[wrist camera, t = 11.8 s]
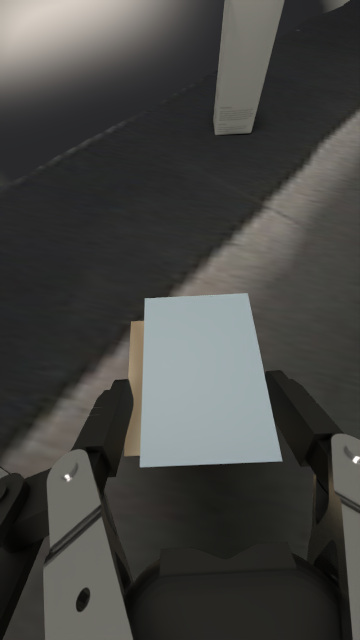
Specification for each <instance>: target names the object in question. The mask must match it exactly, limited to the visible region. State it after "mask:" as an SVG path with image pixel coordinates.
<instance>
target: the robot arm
mask: <svg viewBox="0 0 360 640" xmlns="http://www.w3.org/2000/svg"><path fill="white" fill-rule="evenodd" d="M265 380H266V385H267V389H268V394H269V399H270V404H271V409H272V414H273V418H274V420H275V421H276V423H277V425H278V427H279V429H280V430H281V432H282V434H283V436H284V438H285V439H286V441H287V443H288V445H289V447H290V448H291V450H292V452H293V454H294V456H295V457H296V459H297V461H298V463H299V465H300V466H301V467H310V466H311V468H312V470H313V471H314V476H313V506H312V530H311V535H310V539H309V545H308V555H307V561H306V560H304V559H303V558H301V557H299V556H297V555H295V554H292V553H291V551H290V548H289V545H288V543H287V542H279V543H261V544H255V545H253V546H251V547H249V548H248V549H246V550H244V551H242V552H240V553H238V554H237V555H235V556H233V557H231V558H229V559H222V558H219V557H216V556H214V555H211V554H208V553H205V552H203V551H200V550H197V549H195V548H192V547H191V548H173V549H161V555H160V559H159V560H158V561H156V562H154V563H153V564H151V565H150V566H149V567H147V568H146V569H145V570H144V571H143V572H142V573H141V574H140V575H139V577H138V578H137V579H136V580H135V582H133V579H132V576H131V572H130V569H129V566H128V562H127V559H126V556H125V553H124V551H123V548H122V545H121V543H120V540H119V537H118V533H117V530H116V527H115V523H114V520H113V517H112V513H111V510H110V507H109V503H108V500H107V496H106V493H105V490H104V488H105V485H106V481H107V478H108V477H116V473H117V469H118V465H119V462H120V458H121V454H122V450H123V446H124V442H125V438H126V434H127V431H128V427H129V423H130V419H131V415H132V411H133V406H134V398H133V394H132V390H131V385H130V381H129V380H128V379H124V380H115V381H114V382H113V384H112V387H111V389H110V390H105V391H104V392H103V393H102V394H101V395H100V396H99V397H98V398H97V400H96V402H95V404H94V406H93V409H92V410H91V412H90V414H89V416H88V418H87V420H86V422H85V424H84V426H83V428H82V430H81V432H80V434H79V436H78V438H77V440H76V442H75V444H74V446H73V448H72V450H71V451H70V452H68V453H66V454H65V455H64V456H62V457H61V458H60V459H59V460H58V461H57V462H56V463H55V464H54V466H53V467H52V468H50V469H48V470H46V471H43V472H41V473H38V474H36V475H33V476H31V477H28V478H26V479H24V478H23V477H22V476H21V475H20V474H18V473H12V474H8V475H6V476H4V477H2V478H0V640H2V639H3V637H4V635H5V632H6V630H7V627H8V625H9V622H10V620H11V617H12V615H13V613H14V610H15V608H16V605H17V603H18V600H19V598H20V595H21V593H22V590H23V588H24V586H25V583H26V581H27V578H28V576H29V573H30V571H31V568H32V566H33V564H34V561H35V559H36V556H37V554H38V551H39V549H40V546H41V544H42V542H43V539H44V537H46V536H48V535H50V552H49V555H48V556H47V557H46V559H45V563H44V572H43V581H44V614H45V640H360V440H358V439H356V438H354V437H352V436H349V435H346V434H344V433H343V432H342V431H341V429H340V428H339V427H338V426H337V425H336V424H335V423H334V421H333V420H332V419H331V418H330V417H329V416H328V415H327V413H326V412H325V411H324V410H323V409H322V408H321V407H320V406H319V404H318V403H316V401H315V400H314V399H313V398H312V396H310V394H309V393H308V392H307V391H306V390H305V388H304V387H303V386H302V385H300V384H299V383H297V382H296V381H294V380H293V379H288V378H287V376H286V375H285V374H284V373H283V372H282V371H281V370H276V371H266V373H265Z"/></svg>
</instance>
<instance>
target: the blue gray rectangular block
mask: <svg viewBox="0 0 360 640" xmlns="http://www.w3.org/2000/svg"><path fill="white" fill-rule="evenodd" d="M274 461H282V457H281V452H280V447H279V443H278V438H277V433H276V428H275V423H274V418H273V414H272V409H271V404H270V399H269V394H268V389H267V385H266V380H265V375H264V370H263V365H262V360H261V356H260V351H259V346H258V341H257V336H256V332H255V327H254V322H253V317H252V312H251V307H250V303H249V298H248V293H244V294H224V295H205V296H185V297H166V298H146V299H145V317H144V349H143V382H142V414H141V447H140V467H159V466H182V465H205V464H228V463H251V462H274Z"/></svg>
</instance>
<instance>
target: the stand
mask: <svg viewBox="0 0 360 640" xmlns="http://www.w3.org/2000/svg"><path fill="white" fill-rule="evenodd" d="M143 349H144V321H135V322H131V337H130V356H129V375H128V380H129V381H130V385H131V390H132V394H133V398H134V406H133V411H132V415H131V419H130V423H129V427H128V431H127V434H126V438H125V452H124V456H140V447H141V414H142V382H143Z"/></svg>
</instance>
